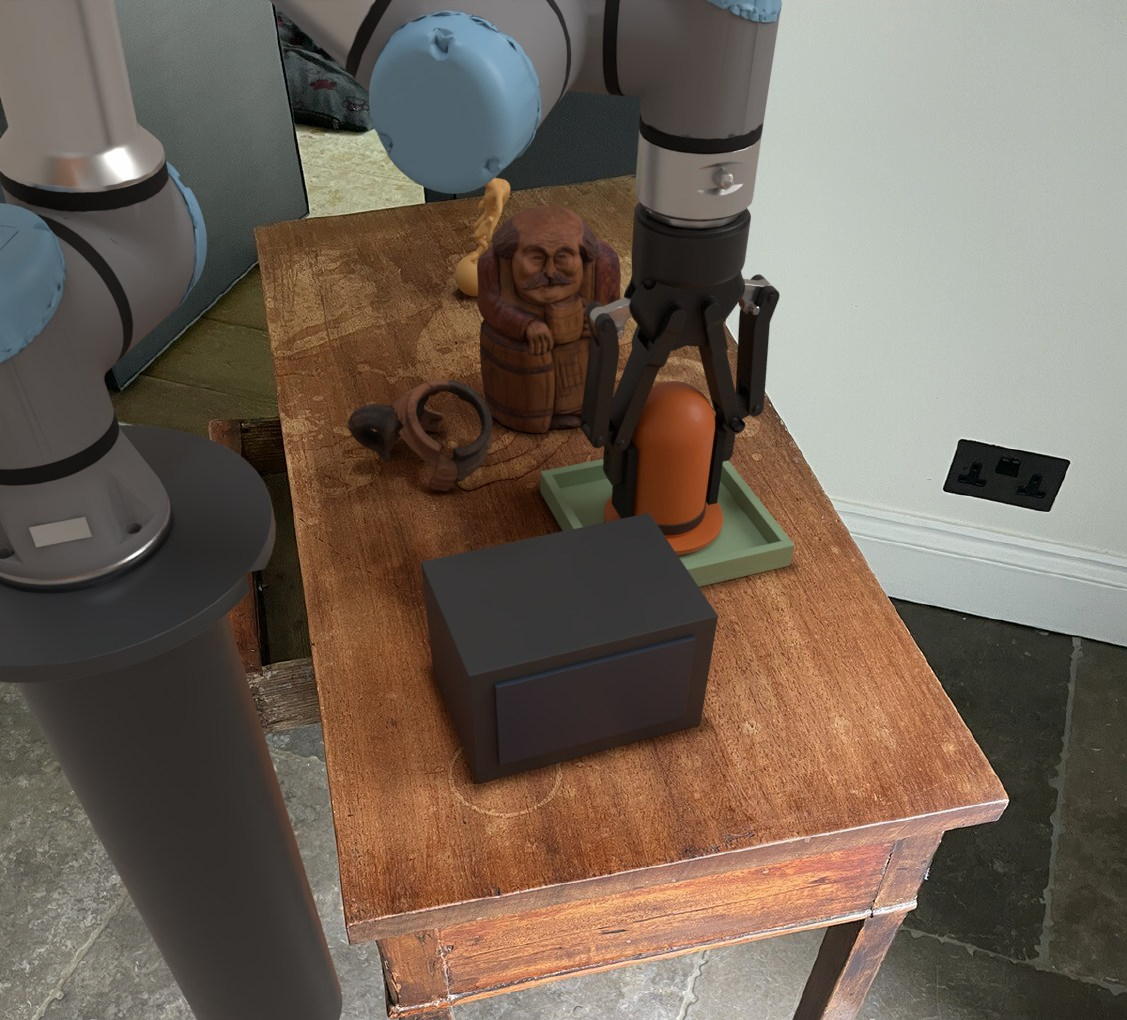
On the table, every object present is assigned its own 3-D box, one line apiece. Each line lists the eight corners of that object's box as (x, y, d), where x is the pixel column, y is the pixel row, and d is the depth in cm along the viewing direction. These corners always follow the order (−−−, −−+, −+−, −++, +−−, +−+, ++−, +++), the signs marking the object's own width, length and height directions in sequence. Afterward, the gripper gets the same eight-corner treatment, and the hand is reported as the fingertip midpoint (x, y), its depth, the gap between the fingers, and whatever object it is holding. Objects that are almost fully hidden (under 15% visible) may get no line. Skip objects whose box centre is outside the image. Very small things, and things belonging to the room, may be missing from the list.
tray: (540, 492, 90) (539, 471, 89) (707, 458, 94) (710, 437, 92) (606, 608, 81) (607, 587, 79) (790, 565, 84) (794, 544, 83)
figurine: (453, 277, 116) (445, 158, 106) (508, 274, 116) (505, 155, 107) (458, 314, 110) (451, 192, 101) (516, 311, 111) (514, 189, 102)
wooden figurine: (495, 441, 95) (486, 235, 82) (480, 403, 99) (469, 201, 86) (621, 423, 97) (633, 220, 84) (601, 387, 101) (610, 187, 88)
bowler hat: (587, 496, 88) (591, 365, 80) (692, 474, 91) (708, 344, 82) (630, 566, 82) (640, 434, 74) (742, 541, 85) (764, 409, 76)
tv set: (432, 671, 76) (420, 561, 69) (639, 622, 80) (649, 512, 72) (478, 787, 69) (469, 679, 62) (702, 727, 73) (720, 618, 65)
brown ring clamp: (466, 423, 98) (494, 370, 90) (479, 517, 95) (509, 470, 88) (335, 413, 93) (353, 355, 86) (345, 511, 91) (365, 460, 83)
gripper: (569, 251, 64) (565, 557, 81) (857, 207, 68) (794, 506, 85) (529, 201, 68) (534, 500, 86) (801, 163, 73) (753, 455, 90)
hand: (664, 503), depth 85 cm, fingers closed on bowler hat, 7 cm apart
